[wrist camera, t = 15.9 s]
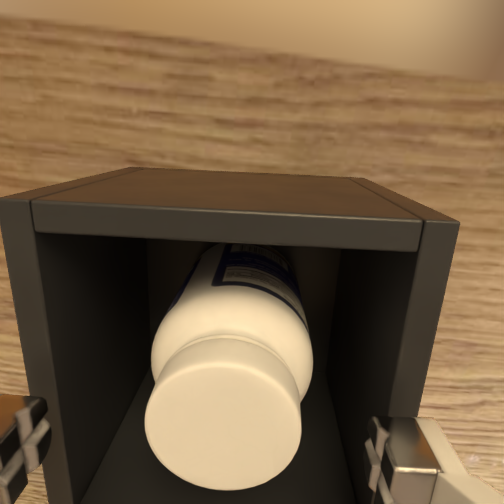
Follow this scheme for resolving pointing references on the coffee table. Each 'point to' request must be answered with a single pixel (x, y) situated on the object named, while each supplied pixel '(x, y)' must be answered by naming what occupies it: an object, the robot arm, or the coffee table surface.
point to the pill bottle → (230, 370)
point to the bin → (166, 288)
